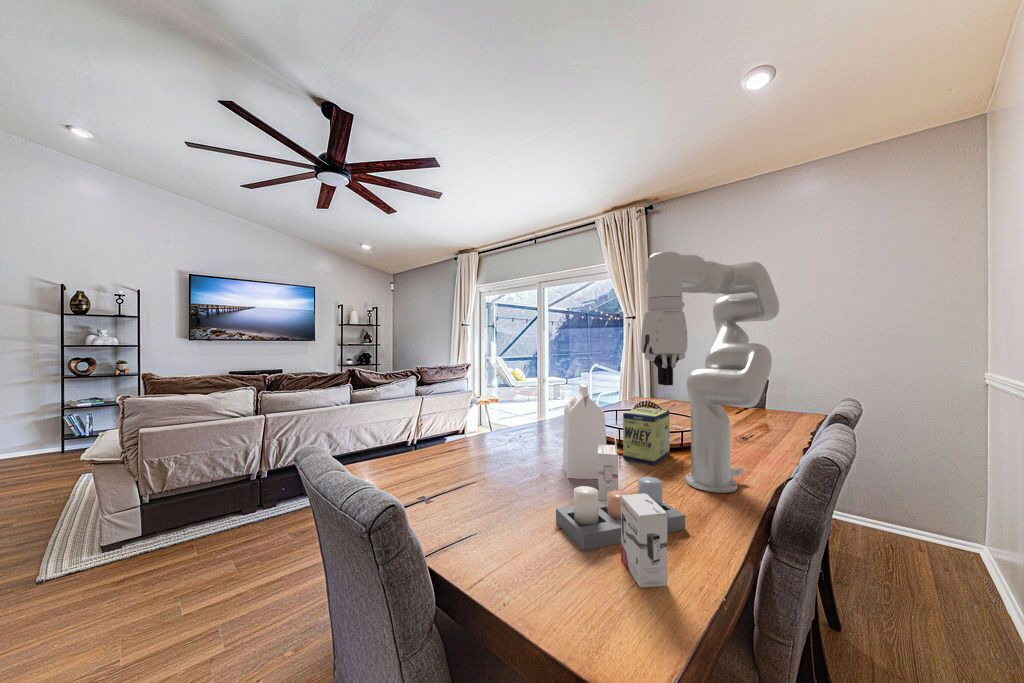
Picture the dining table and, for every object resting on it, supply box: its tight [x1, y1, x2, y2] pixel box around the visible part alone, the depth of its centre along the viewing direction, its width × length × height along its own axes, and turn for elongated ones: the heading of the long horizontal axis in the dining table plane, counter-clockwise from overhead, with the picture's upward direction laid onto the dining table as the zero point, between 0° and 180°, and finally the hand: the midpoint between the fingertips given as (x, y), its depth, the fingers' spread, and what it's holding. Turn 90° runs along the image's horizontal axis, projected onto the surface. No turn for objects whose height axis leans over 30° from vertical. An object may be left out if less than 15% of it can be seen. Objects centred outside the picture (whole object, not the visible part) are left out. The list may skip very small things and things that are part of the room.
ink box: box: [620, 493, 668, 588], centre depth 64 cm, size 9×5×12 cm, turn 5°
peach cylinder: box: [607, 490, 630, 520], centre depth 80 cm, size 5×5×6 cm
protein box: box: [622, 406, 671, 466], centre depth 127 cm, size 10×16×16 cm
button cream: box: [573, 485, 599, 526], centre depth 77 cm, size 5×5×6 cm
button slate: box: [637, 476, 663, 508], centre depth 83 cm, size 5×5×6 cm
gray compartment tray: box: [555, 500, 686, 552], centre depth 80 cm, size 24×12×3 cm, turn 109°
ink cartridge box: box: [597, 434, 619, 501], centre depth 97 cm, size 9×5×15 cm, turn 168°
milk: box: [562, 383, 607, 480], centre depth 114 cm, size 12×12×26 cm
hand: (665, 384), depth 88 cm, fingers closed
